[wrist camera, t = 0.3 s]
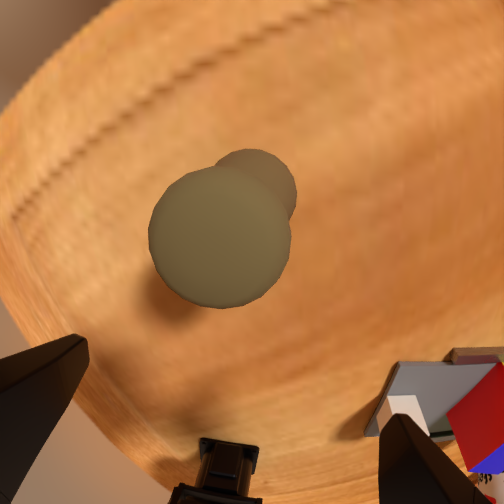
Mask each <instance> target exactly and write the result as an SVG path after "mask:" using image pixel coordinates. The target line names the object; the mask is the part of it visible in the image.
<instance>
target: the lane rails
mask: <svg viewBox="0 0 504 504" xmlns="http://www.w3.org/2000/svg"><path fill="white" fill-rule="evenodd" d="M450 359H451V360H452V362H453V364H454V365H461V364H482V363H496V362H504V347H481V348H453V350H452V352H451V354H450ZM429 434H430V435H429V437H430V438H431V439H432V440H433V442H434V443H435V442H442V441H448V440H455V439H456V438H455V435H454V433H453V430H447V431H440V432H431V433H429Z"/></svg>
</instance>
